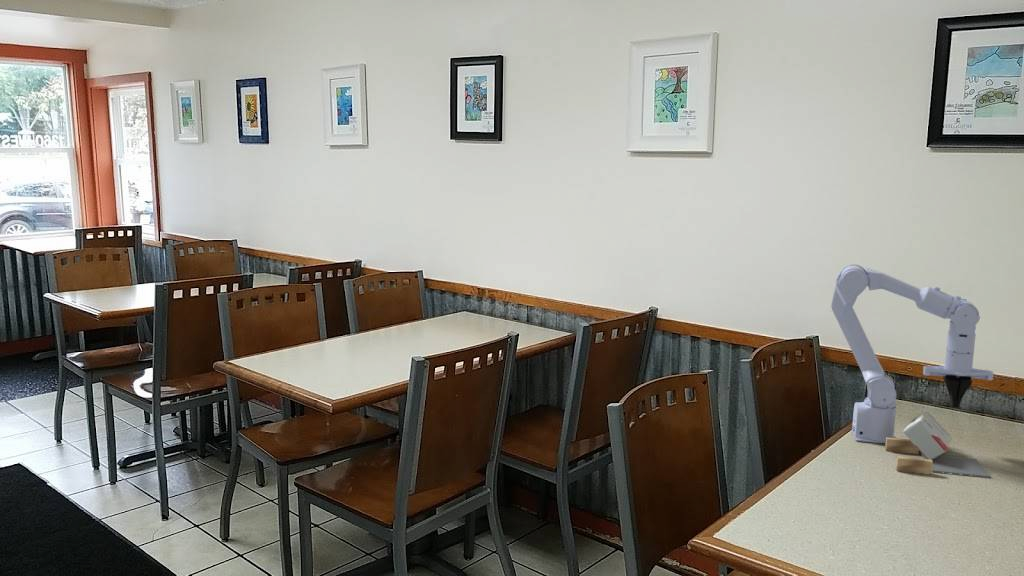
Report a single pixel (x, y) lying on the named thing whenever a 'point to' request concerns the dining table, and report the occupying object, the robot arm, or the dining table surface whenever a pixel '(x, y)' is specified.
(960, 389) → the robot arm
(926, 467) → the rail bay
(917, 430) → the ink box
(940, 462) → the rubber mat
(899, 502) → the dining table surface
